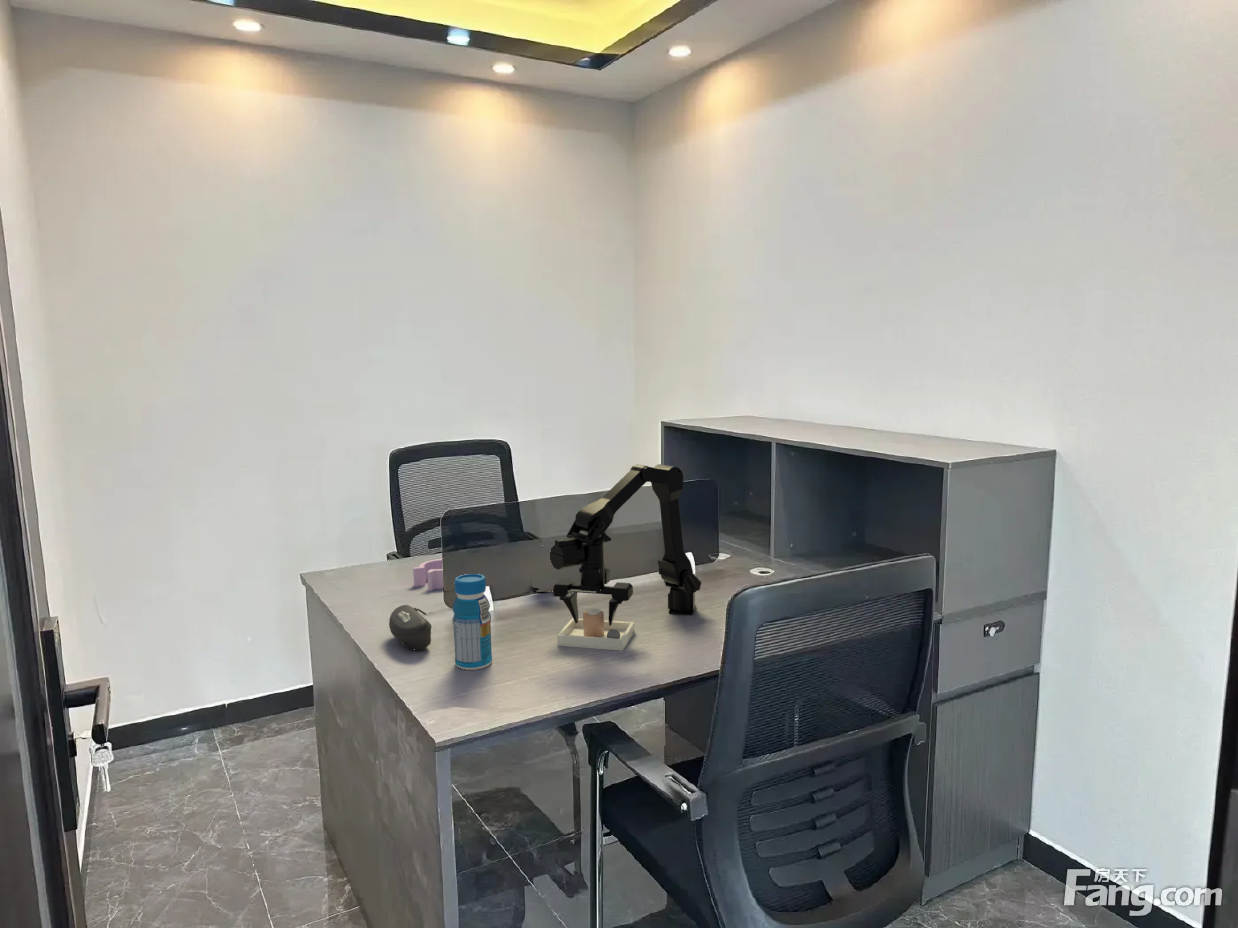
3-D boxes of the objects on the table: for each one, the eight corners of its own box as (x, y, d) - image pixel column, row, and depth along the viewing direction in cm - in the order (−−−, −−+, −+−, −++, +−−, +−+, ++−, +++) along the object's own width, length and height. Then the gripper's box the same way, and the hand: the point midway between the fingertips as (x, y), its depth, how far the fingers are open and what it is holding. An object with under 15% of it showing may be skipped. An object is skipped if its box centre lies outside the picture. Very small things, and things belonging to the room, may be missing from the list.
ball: (621, 640, 186) (621, 627, 186) (618, 645, 183) (618, 632, 183) (608, 639, 187) (608, 626, 187) (605, 644, 184) (605, 631, 184)
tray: (634, 632, 193) (634, 622, 193) (623, 650, 182) (622, 640, 181) (572, 627, 197) (572, 617, 197) (557, 645, 186) (557, 635, 185)
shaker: (606, 631, 192) (605, 607, 191) (601, 638, 188) (600, 614, 187) (586, 630, 194) (586, 606, 193) (581, 637, 189) (580, 613, 188)
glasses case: (382, 635, 194) (380, 605, 193) (424, 627, 199) (422, 597, 198) (403, 660, 179) (401, 627, 177) (448, 650, 184) (446, 618, 183)
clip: (460, 573, 246) (460, 552, 245) (488, 580, 238) (487, 558, 237) (408, 589, 230) (407, 566, 229) (435, 597, 223) (434, 573, 222)
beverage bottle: (459, 674, 170) (454, 585, 167) (451, 660, 178) (446, 574, 175) (497, 667, 174) (493, 580, 170) (487, 653, 181) (484, 570, 178)
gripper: (637, 554, 193) (638, 615, 196) (565, 550, 198) (566, 610, 200) (627, 567, 183) (628, 631, 185) (550, 563, 187) (552, 625, 189)
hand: (593, 623), depth 190 cm, fingers open, 8 cm apart
